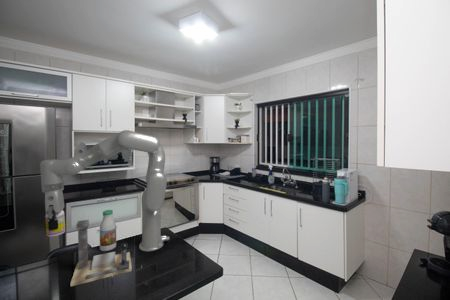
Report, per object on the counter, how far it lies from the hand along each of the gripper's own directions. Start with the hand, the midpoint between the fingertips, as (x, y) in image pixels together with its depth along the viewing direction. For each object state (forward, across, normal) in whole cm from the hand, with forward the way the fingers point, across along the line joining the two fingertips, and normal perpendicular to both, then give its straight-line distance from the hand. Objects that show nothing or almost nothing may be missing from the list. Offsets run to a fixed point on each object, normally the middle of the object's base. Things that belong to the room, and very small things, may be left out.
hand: (55, 225), depth 93 cm
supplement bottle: (+4, 0, 0) cm, 4 cm away
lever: (+17, -18, -26) cm, 36 cm away
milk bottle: (+20, +8, -19) cm, 29 cm away
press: (+19, -12, -18) cm, 29 cm away
